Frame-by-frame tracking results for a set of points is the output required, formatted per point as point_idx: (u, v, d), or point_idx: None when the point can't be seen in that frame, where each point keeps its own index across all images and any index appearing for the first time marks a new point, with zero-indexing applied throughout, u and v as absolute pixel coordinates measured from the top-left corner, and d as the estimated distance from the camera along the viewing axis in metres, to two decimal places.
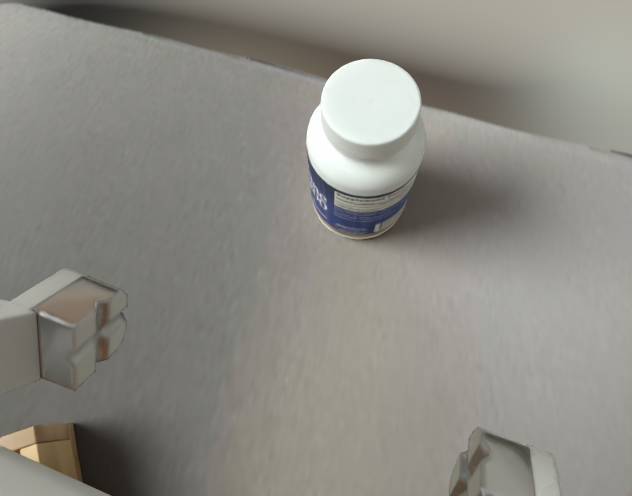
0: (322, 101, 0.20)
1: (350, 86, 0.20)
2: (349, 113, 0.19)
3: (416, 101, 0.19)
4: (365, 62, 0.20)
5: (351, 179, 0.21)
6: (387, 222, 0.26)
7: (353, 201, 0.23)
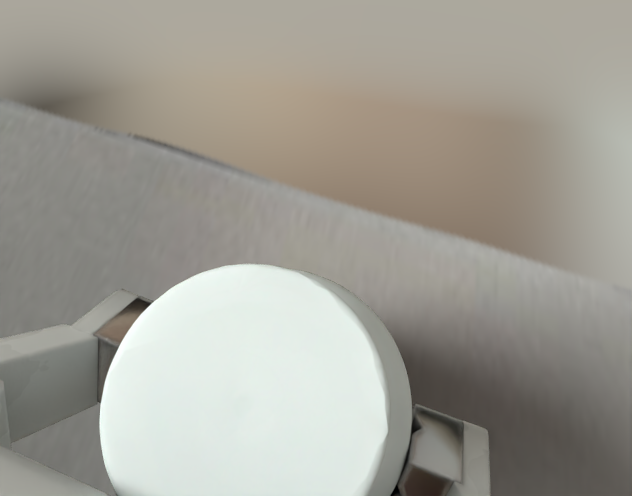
0: (102, 402, 0.07)
1: (188, 354, 0.07)
2: (173, 451, 0.07)
3: (375, 414, 0.07)
4: (238, 276, 0.07)
5: None
6: None
7: None
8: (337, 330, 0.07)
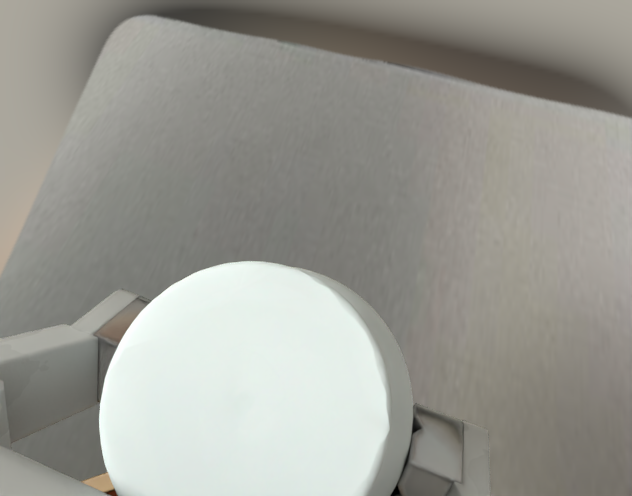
0: (102, 400, 0.07)
1: (188, 351, 0.07)
2: (173, 449, 0.06)
3: (376, 412, 0.07)
4: (239, 273, 0.07)
5: None
6: None
7: None
8: (338, 328, 0.07)
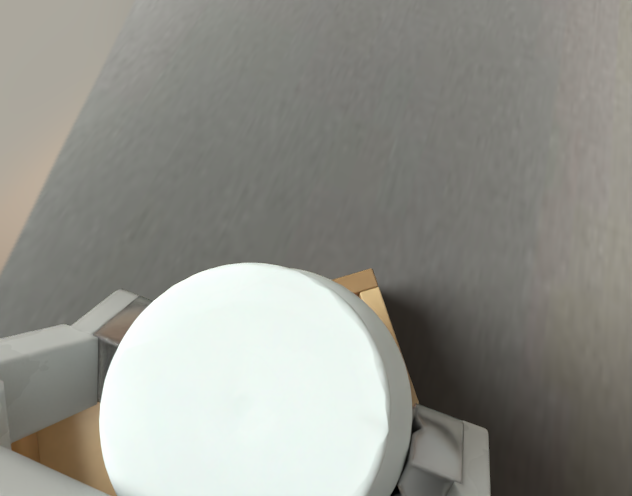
0: (102, 402, 0.07)
1: (188, 353, 0.07)
2: (173, 450, 0.06)
3: (376, 414, 0.07)
4: (238, 275, 0.07)
5: None
6: None
7: None
8: (337, 329, 0.07)
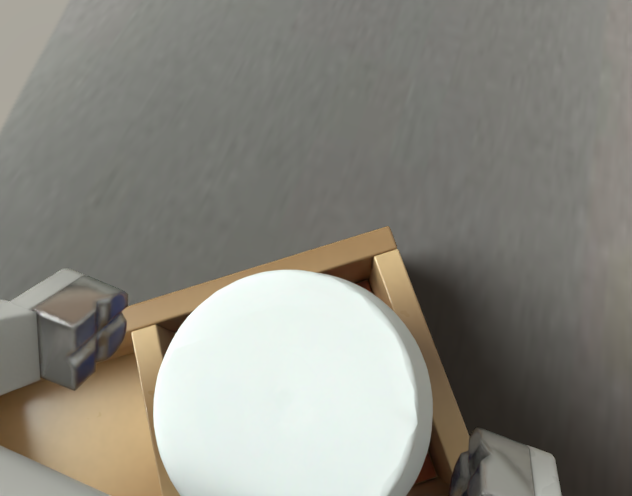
0: (156, 396, 0.07)
1: (233, 352, 0.08)
2: (222, 440, 0.07)
3: (405, 408, 0.07)
4: (278, 281, 0.08)
5: None
6: None
7: None
8: (369, 331, 0.08)
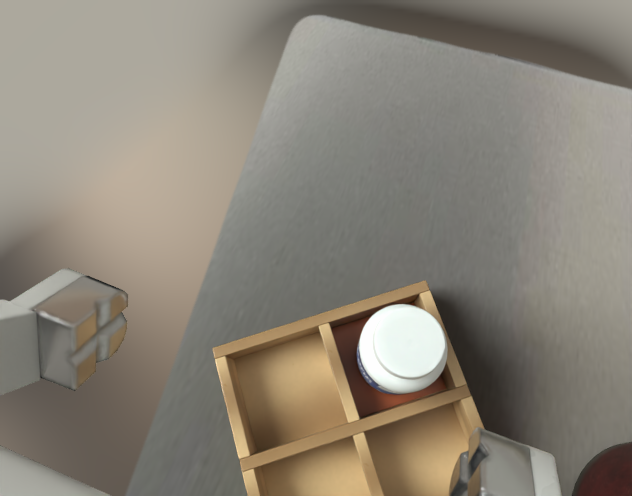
0: (375, 341, 0.28)
1: (395, 329, 0.28)
2: (394, 351, 0.28)
3: (442, 343, 0.28)
4: (405, 309, 0.28)
5: (393, 385, 0.29)
6: None
7: (393, 391, 0.31)
8: (431, 323, 0.28)
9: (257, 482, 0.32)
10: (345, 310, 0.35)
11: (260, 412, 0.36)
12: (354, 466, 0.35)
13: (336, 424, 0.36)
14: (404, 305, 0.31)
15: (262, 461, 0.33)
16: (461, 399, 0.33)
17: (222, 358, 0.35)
